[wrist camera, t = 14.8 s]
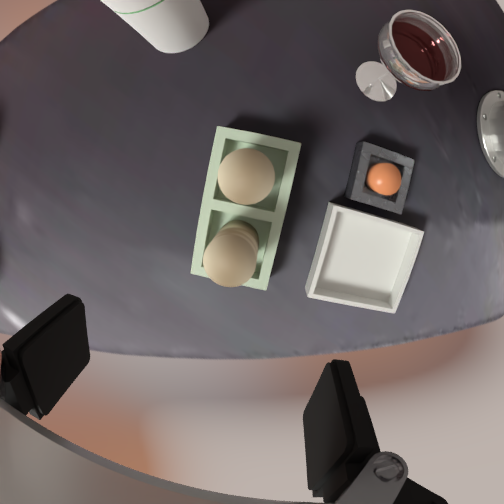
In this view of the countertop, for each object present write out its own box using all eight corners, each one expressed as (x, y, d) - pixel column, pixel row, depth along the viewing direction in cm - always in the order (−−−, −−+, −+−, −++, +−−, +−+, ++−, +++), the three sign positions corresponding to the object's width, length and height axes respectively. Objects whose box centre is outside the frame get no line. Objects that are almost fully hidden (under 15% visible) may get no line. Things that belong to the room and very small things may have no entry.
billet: (263, 225, 30) (261, 242, 23) (254, 264, 31) (250, 291, 24) (221, 215, 30) (207, 230, 23) (214, 255, 31) (199, 280, 24)
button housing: (404, 159, 28) (414, 160, 25) (392, 210, 29) (401, 214, 27) (356, 143, 28) (363, 141, 25) (344, 196, 29) (350, 199, 27)
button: (394, 168, 27) (404, 168, 25) (387, 196, 28) (397, 199, 26) (368, 159, 27) (376, 158, 25) (361, 187, 28) (369, 190, 26)
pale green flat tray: (298, 145, 28) (301, 143, 25) (266, 279, 32) (266, 290, 30) (222, 130, 28) (217, 126, 25) (197, 263, 32) (190, 273, 30)
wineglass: (378, 46, 24) (424, 1, 12) (413, 93, 25) (474, 69, 14) (335, 69, 25) (369, 22, 14) (372, 119, 27) (427, 98, 15)
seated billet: (277, 157, 28) (280, 154, 21) (268, 199, 29) (268, 210, 22) (234, 148, 28) (223, 143, 21) (225, 190, 29) (212, 198, 22)
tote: (414, 226, 30) (424, 231, 27) (387, 303, 33) (394, 313, 30) (328, 201, 30) (333, 205, 27) (304, 287, 33) (307, 297, 30)
